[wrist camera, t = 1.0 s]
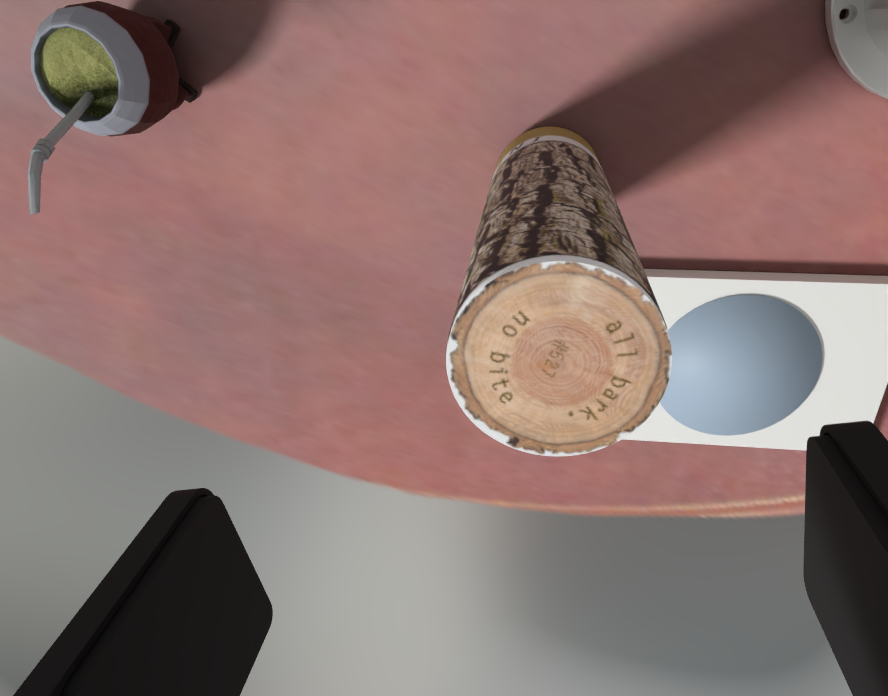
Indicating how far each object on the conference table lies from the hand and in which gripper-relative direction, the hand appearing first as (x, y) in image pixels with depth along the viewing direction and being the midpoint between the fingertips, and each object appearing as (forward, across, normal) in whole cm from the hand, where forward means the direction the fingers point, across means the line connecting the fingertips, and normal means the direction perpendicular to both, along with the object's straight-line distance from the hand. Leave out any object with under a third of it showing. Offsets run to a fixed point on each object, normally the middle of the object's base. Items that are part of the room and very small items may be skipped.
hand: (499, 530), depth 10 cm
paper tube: (+35, -1, +2) cm, 35 cm away
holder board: (+34, -11, +17) cm, 40 cm away
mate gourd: (+35, +23, -9) cm, 42 cm away
